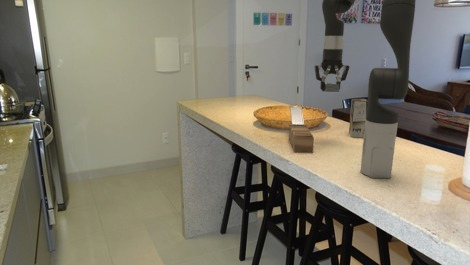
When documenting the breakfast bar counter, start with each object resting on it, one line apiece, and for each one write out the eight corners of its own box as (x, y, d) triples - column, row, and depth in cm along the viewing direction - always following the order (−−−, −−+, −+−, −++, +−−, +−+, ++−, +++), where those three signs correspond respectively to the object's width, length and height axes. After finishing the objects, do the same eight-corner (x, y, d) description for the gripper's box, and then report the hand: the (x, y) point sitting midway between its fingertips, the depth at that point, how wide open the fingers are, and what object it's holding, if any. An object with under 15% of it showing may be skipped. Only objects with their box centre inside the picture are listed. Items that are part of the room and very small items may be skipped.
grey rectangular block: (339, 91, 136) (339, 82, 135) (326, 91, 136) (326, 82, 136) (333, 91, 145) (333, 83, 144) (321, 91, 145) (321, 83, 145)
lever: (304, 124, 147) (301, 105, 155) (291, 124, 147) (289, 105, 156) (304, 126, 148) (301, 107, 156) (291, 126, 148) (289, 107, 157)
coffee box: (366, 138, 151) (369, 101, 147) (350, 137, 152) (354, 101, 148) (362, 132, 160) (366, 98, 156) (348, 132, 161) (351, 97, 157)
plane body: (313, 152, 131) (314, 135, 129) (294, 152, 131) (294, 135, 130) (305, 139, 149) (306, 124, 147) (288, 139, 149) (289, 124, 147)
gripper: (348, 47, 140) (345, 89, 144) (313, 47, 140) (310, 89, 145) (354, 48, 132) (350, 92, 137) (316, 48, 133) (313, 92, 137)
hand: (329, 90), depth 141 cm, fingers closed on grey rectangular block, 5 cm apart
